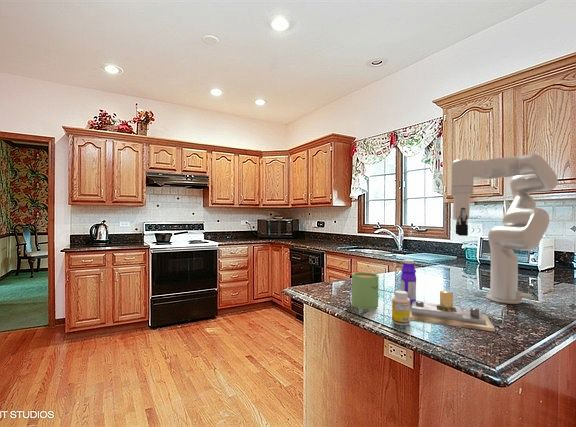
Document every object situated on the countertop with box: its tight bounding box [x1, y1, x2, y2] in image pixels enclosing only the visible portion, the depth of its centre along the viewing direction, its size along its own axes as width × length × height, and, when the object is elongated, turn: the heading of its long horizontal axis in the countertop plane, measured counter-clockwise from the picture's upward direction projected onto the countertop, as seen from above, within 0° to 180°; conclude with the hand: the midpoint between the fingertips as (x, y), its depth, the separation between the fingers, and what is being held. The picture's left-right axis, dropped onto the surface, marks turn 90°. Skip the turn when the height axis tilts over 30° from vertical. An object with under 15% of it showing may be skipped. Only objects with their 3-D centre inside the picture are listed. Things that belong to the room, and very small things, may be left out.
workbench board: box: [410, 305, 496, 333], centre depth 106 cm, size 26×14×1 cm, turn 66°
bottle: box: [400, 258, 417, 305], centre depth 125 cm, size 7×6×17 cm
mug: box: [351, 271, 380, 310], centre depth 121 cm, size 13×10×12 cm
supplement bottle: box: [391, 290, 411, 326], centre depth 101 cm, size 6×6×10 cm
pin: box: [439, 290, 454, 312], centre depth 106 cm, size 4×4×8 cm
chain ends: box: [411, 300, 486, 325], centre depth 106 cm, size 22×9×3 cm, turn 66°
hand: (461, 234), depth 120 cm, fingers open, 9 cm apart
